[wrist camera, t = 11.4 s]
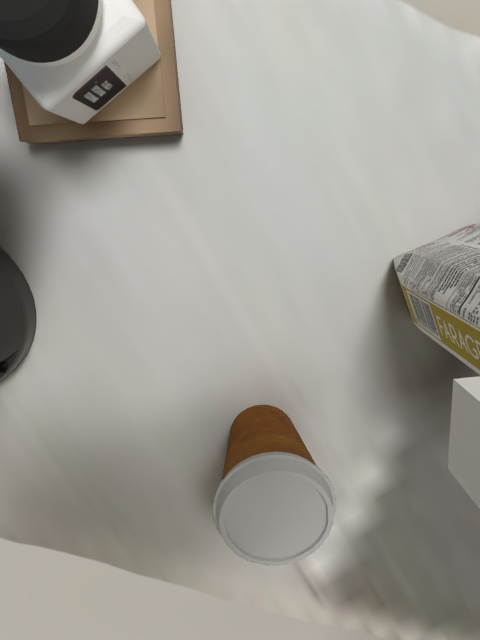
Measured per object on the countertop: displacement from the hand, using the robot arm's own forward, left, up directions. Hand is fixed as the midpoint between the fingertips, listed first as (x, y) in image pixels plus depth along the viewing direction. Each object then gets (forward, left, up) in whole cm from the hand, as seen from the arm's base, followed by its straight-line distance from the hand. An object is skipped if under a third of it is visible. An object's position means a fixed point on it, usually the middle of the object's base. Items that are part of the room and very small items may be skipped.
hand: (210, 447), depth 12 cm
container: (-8, +16, -26) cm, 32 cm away
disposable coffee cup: (+3, -18, -29) cm, 34 cm away
